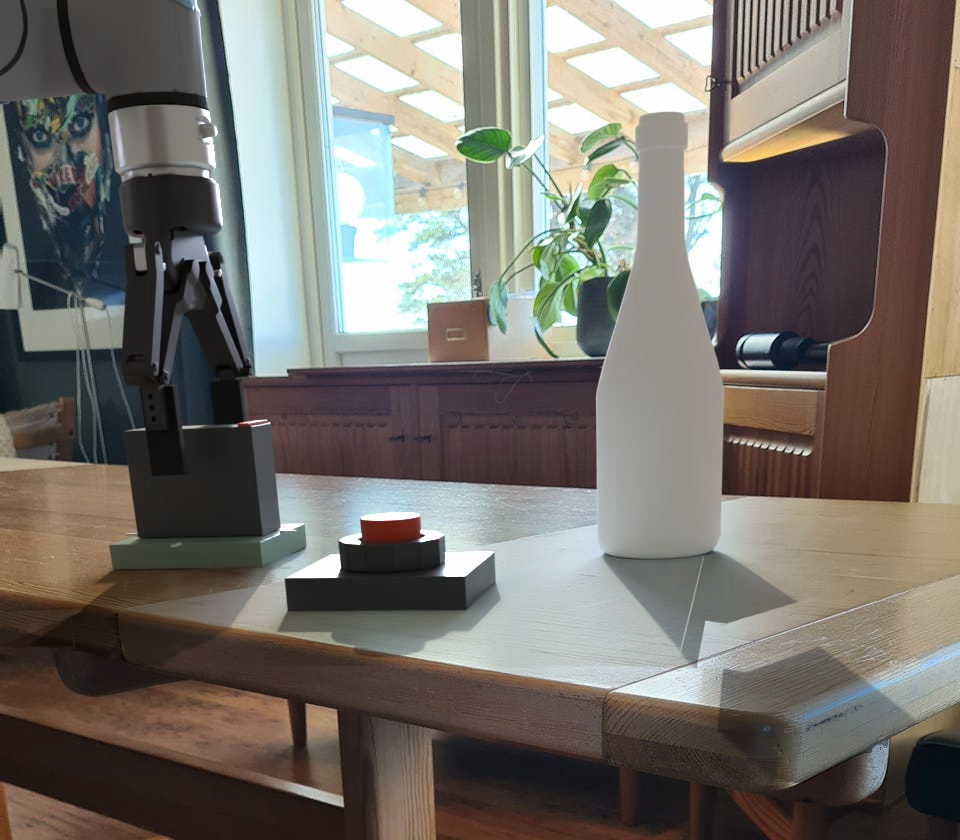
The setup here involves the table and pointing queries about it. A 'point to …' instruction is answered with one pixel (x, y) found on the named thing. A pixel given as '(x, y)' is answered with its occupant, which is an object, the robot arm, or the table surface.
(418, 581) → the switch box
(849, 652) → the table surface
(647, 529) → the wine bottle
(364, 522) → the button
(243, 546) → the platform
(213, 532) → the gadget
